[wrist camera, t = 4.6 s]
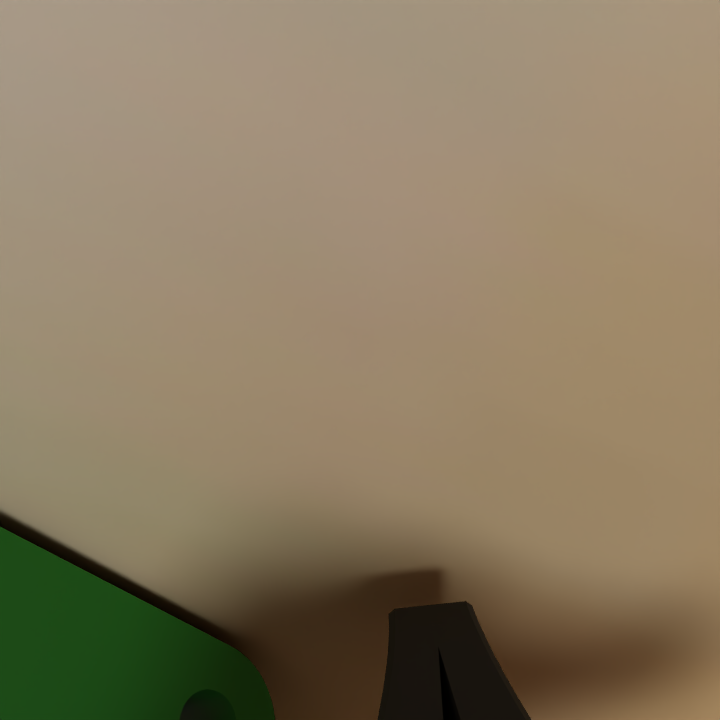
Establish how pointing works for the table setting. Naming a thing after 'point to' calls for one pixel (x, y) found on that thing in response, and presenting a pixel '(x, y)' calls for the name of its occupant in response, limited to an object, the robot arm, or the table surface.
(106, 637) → the clamp
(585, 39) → the table surface
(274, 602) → the table surface
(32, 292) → the table surface
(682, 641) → the table surface
